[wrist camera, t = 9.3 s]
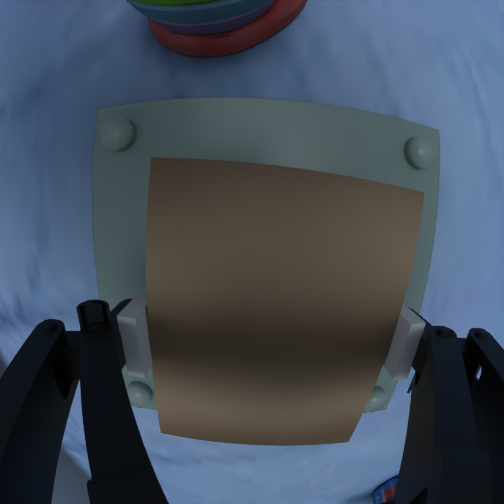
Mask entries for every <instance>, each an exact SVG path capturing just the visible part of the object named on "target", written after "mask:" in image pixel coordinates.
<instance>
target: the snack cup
mask: <svg viewBox="0 0 504 504" xmlns="http://www.w3.org/2000/svg"><path fill="white" fill-rule="evenodd" d="M397 480H398V477H397V478H394V479H391V480H389V481H388V482H386V483H385V484H384V485H382V486H381V487H379V488H378V489H377V490H376V491H375V492H373V503H374V504H380V503H384V502H387V501H391V500H392V498H393V495H394V491H395V488H396V484H397Z"/></svg>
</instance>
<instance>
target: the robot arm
mask: <svg viewBox="0 0 504 504" xmlns="http://www.w3.org/2000/svg"><path fill="white" fill-rule="evenodd" d="M77 313H78V318H79V323H80V331H66V330H65V326H64V323H63V322H62V321H60V320H56V319H48V320H44V321H43V322H41V323H39V324H38V325H37V326H36V327H35V329H34V330H33V331H32V333H31V334H30V336H29V337H28V338H27V340H26V341H25V342H24V344H23V345H22V347H21V348H20V350H19V351H18V352H17V354H16V355H15V357H14V358H13V360H12V361H11V363H10V364H9V366H8V368H7V369H6V371H5V372H4V374H3V375H2V377H1V379H0V504H51V501H52V493H53V486H54V479H55V474H56V468H57V463H58V458H59V453H60V448H61V444H62V439H63V435H64V431H65V427H66V423H67V419H68V416H69V412H70V408H71V405H72V401H73V398H74V395H75V391H76V388H77V385H78V382H79V379H80V387H81V404H82V415H83V425H84V433H85V441H86V447H87V454H88V460H89V465H90V470H91V476H92V479H91V480H88V482H87V490H88V495H89V499H90V504H169V503H168V501H167V499H166V497H165V494H164V492H163V490H162V488H161V486H160V483H159V481H158V479H157V477H156V474H155V472H154V469H153V467H152V465H151V462H150V460H149V457H148V454H147V452H146V449H145V446H144V444H143V441H142V438H141V435H140V432H139V429H138V426H137V423H136V420H135V417H134V414H133V410H132V407H131V404H130V400H129V397H128V393H127V389H126V386H125V382H124V378H123V374H122V369H123V368H124V366H125V364H126V368H127V372H128V375H130V376H135V377H141V378H146V376H147V374H148V372H149V370H150V368H151V366H152V364H153V363H152V356H151V350H150V343H149V332H148V315H147V291H146V286H145V287H144V288H143V289H142V290H141V291H140V292H139V293H138V294H137V295H136V296H135V297H134V299H131V298H128V299H126V300H123V301H121V302H120V303H119V304H118V305H117V306H116V307H115V308H113V309H112V311H110V307H109V304H108V302H106V301H104V300H88V301H85V302H82V303H80V304H79V305H78V306H77ZM383 366H384V367H385V369H386V370H387V372H388V373H389V375H390V376H391V378H392V379H393V380H397V379H403V378H407V377H408V374H409V372H410V369H411V366H412V367H413V369H414V370H415V371H416V372H415V374H414V377H413V379H412V382H411V384H410V387H409V389H408V391H407V393H410V391H411V390H412V392H411V403H410V412H409V420H408V427H407V434H406V440H405V446H404V452H403V457H402V462H401V467H400V471H399V475H398V480H397V484H396V488H395V491H394V495H393V498H392V500H391V501H387V502H384V503H380V504H504V349H503V348H502V347H501V346H500V345H499V343H498V342H497V341H496V340H495V339H494V338H493V336H492V335H491V334H490V333H488V332H487V331H485V330H484V329H482V328H472V329H470V330H469V333H468V336H467V338H457V335H456V333H455V332H454V331H453V330H451V329H449V328H447V327H445V326H432V325H431V324H430V323H429V322H427V321H426V320H425V319H423V317H422V316H420V315H419V314H418V313H417V312H416V311H415V310H413V309H411V308H409V307H407V306H406V305H405V304H404V303H403V306H402V309H401V313H400V314H399V318H398V322H397V326H396V329H395V332H394V336H393V339H392V342H391V344H390V347H389V350H388V353H387V356H386V359H385V361H384V364H383ZM480 367H481V369H482V371H481V376H480V378H479V380H478V378H477V377H476V376H477V374H478V372H479V370H480Z"/></svg>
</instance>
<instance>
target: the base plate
mask: <svg viewBox="0 0 504 504" xmlns="http://www.w3.org/2000/svg"><path fill="white" fill-rule="evenodd" d="M151 157H158V158H190V159H209V160H223V161H236V162H247V163H258V164H267V165H276V166H284V167H292V168H300V169H307V170H314V171H320V172H327V173H333V174H339V175H344V176H350V177H356V178H361V179H366V180H371V181H376V182H381V183H386V184H390V185H395V186H399V187H404V188H408V189H412V190H416V191H420V192H424V201H423V209H422V216H421V223H420V229H419V235H418V241H417V246H416V251H415V256H414V261H413V266H412V270H411V275H410V279H409V283H408V287H407V291H406V295H405V299H404V302H403V303H404V304H405V305H406V306H407V307H409V308H411V309H413V310H415V311H416V312H417V313H418V314H419V312H420V308H421V304H422V300H423V296H424V292H425V287H426V282H427V277H428V272H429V267H430V261H431V255H432V249H433V242H434V235H435V227H436V218H437V207H438V194H439V172H440V138H439V130H436V129H433V128H430V127H427V126H423V125H420V124H416V123H413V122H409V121H406V120H402V119H398V118H394V117H390V116H386V115H381V114H377V113H372V112H367V111H362V110H357V109H352V108H346V107H340V106H334V105H327V104H320V103H312V102H303V101H294V100H283V99H269V98H248V97H199V98H179V99H165V100H154V101H144V102H136V103H128V104H121V105H115V106H109V107H103V108H98V111H97V119H96V128H95V139H94V153H93V174H92V217H93V239H94V253H95V264H96V274H97V282H98V290H99V297H100V300H104V301H106V302H108V304H109V307H110V311H112V309H113V308H115V307H116V306H117V305H118V304H119V303H120V302H121V301H123V300H126V299H128V298H131V299H134V297H135V296H136V295H137V294H138V293H139V292H140V291H141V290H142V289H143V288H144V287H145V286H146V231H147V206H148V190H149V177H150V166H151ZM122 374H123V378H124V382H125V386H126V389H127V393H128V397H129V400H130V404H131V405H132V406H136V407H139V408H147V409H153V410H157V405H156V398H155V391H154V383H153V375H152V366H151V368H150V370H149V372H148V374H147V376H146V378H141V377H135V376H130V375H128V372H127V368H126V364H125V366H124V368H123V369H122ZM397 381H398V379H397V380H393V379H392V378H391V376H390V375H389V373H388V372H387V370H386V369H385V367H384V366H383V367H382V369H381V372H380V374H379V377H378V379H377V382H376V384H375V387H374V389H373V391H372V394H371V396H370V398H369V400H368V403H367V405H366V407H365V409H364V411H363V413H366V412H375V411H379V410H384V409H386V408H387V406H388V403H389V401H390V399H391V396H392V394H393V391H394V389H395V386H396V384H397Z"/></svg>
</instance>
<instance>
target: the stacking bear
mask: <svg viewBox="0 0 504 504" xmlns="http://www.w3.org/2000/svg"><path fill="white" fill-rule="evenodd" d="M126 1H127V2H129V3H130V4H131V5H132V6H133V7H134V8H135V9H137V10H138V11H139V12H141V13H142V14H144V15H145V16H147V17H148V18H149V22H150V26H151V29H152V32H153V34H154V35H155V37H156V38H157V39H158V40H159V41H160V42H161V43H162V44H163V45H164V46H166V47H167V48H169V49H171V50H173V51H175V52H178V53H181V54H185V55H190V56H200V57H212V56H222V55H228V54H232V53H236V52H239V51H242V50H245V49H247V48H250V47H252V46H254V45H256V44H258V43H260V42H262V41H264V40H266V39H267V38H269V37H271V36H272V35H274V34H275V33H277V32H278V31H280V30H281V29H283V28H284V27H285V26H286V25H288V24H289V23H290V22H291V21H292V20H293V19H294V18H295V17H296V16H297V15H298V14H299V12H300V11H301V10H302V8H303V6H304V5H305V3H306V1H307V0H126Z"/></svg>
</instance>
